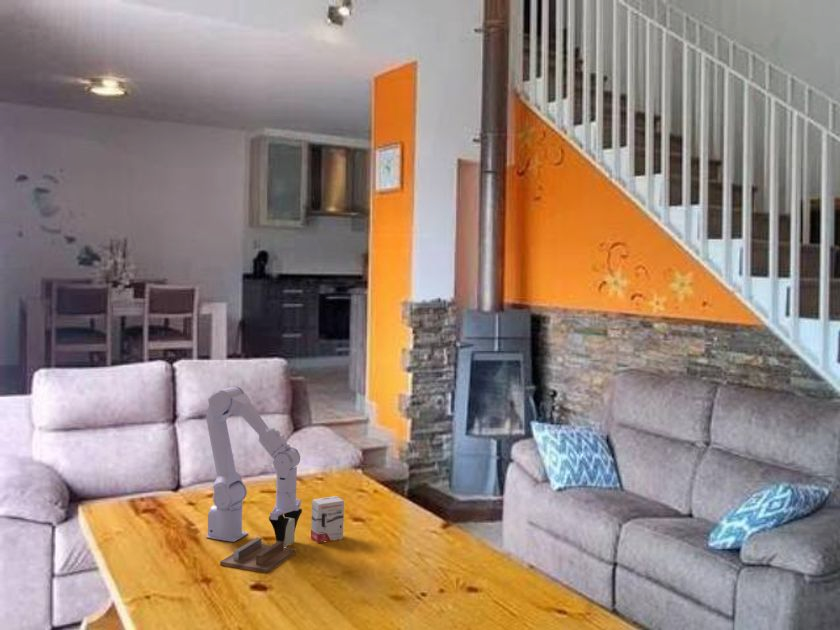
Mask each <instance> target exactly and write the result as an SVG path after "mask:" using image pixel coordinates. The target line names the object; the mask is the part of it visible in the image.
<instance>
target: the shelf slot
mask: <svg viewBox="0 0 840 630" xmlns="http://www.w3.org/2000/svg"><path fill="white" fill-rule="evenodd" d="M296 552H297V551H296V549H295V548H289V547H286V548H284V547H283V541H278V542H276V541H275V543H273V544H264V543H262V547H260V548H259V549H257V550H256V551H254V552H252V553H251V554H249V555H248V556H246V557H245V558H243V559H241V560H240V561H234V553H232V554H230V555H229V556H227V557H225V558H224V559H222V560H220V562H219V563H220V564H219V565H220V566H222V565H223V566H224V567H228V568H234V569H240V570H245V571H251V572H256V573H257V572H258V573H263V574H268V573H269V572H270V571H272V570H273V569H276V567H278V566H280V564H282V563H283V562H285V561H286V560H287V558H288V559H289V558H291V557H292V556H293V555H295V554H296ZM294 553H295V554H294ZM223 566H222V567H223Z"/></svg>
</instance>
